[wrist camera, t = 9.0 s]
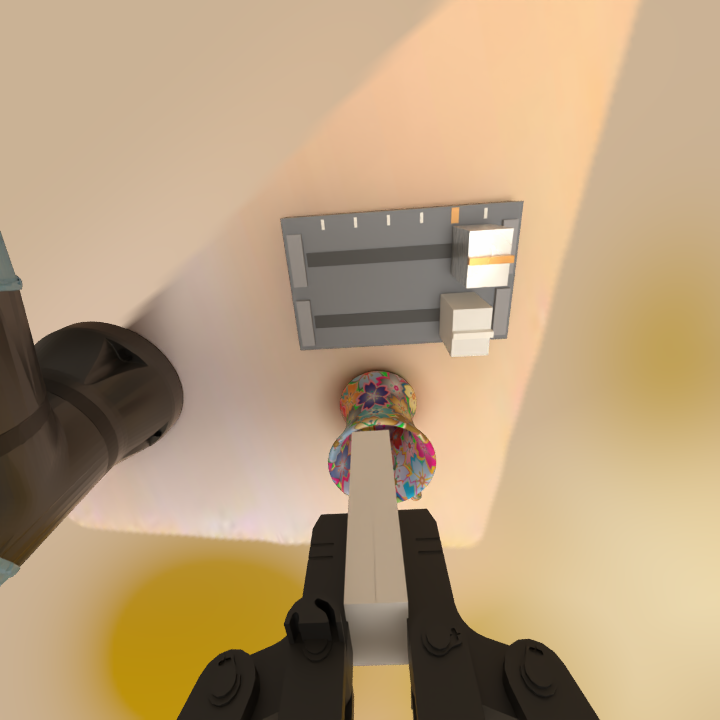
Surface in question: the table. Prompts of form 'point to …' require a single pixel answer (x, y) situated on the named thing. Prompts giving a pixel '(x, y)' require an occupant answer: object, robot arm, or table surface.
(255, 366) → the table surface
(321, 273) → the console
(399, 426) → the mug
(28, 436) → the robot arm
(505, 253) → the fader
